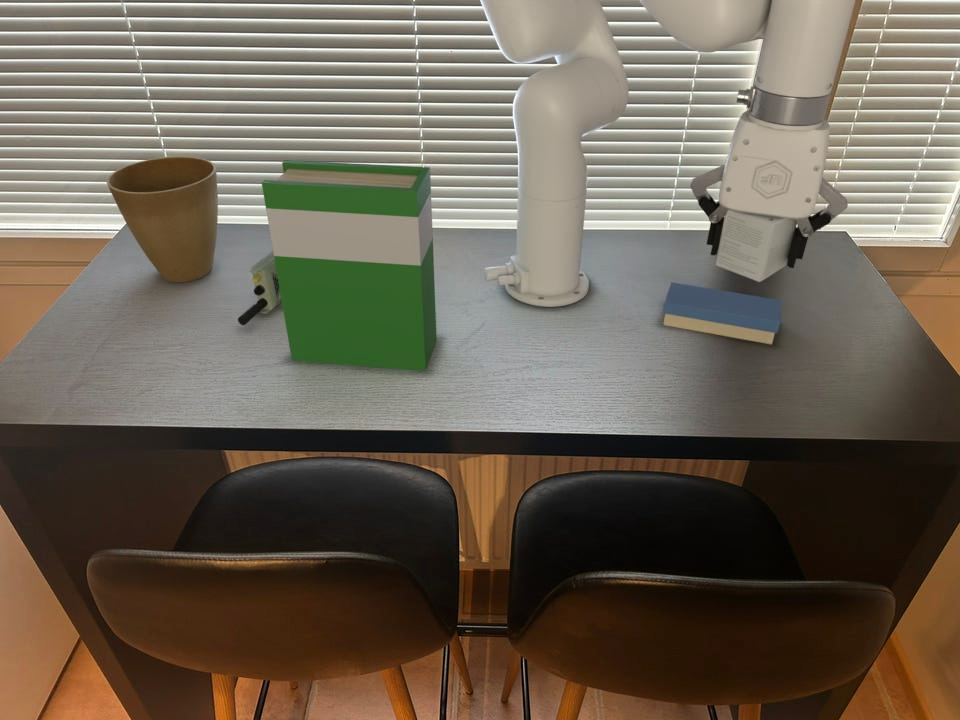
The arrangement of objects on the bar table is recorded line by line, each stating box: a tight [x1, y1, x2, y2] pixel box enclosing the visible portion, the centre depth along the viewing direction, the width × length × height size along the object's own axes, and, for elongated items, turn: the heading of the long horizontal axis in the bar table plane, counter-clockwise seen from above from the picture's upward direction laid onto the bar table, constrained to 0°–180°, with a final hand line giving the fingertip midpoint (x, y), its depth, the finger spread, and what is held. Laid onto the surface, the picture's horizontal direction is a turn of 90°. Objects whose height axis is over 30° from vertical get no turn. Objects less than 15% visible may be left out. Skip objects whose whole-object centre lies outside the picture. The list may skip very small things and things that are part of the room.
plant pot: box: [106, 155, 219, 283], centre depth 114 cm, size 15×15×16 cm
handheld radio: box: [237, 250, 282, 326], centre depth 112 cm, size 7×3×25 cm
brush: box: [662, 281, 783, 345], centre depth 104 cm, size 15×6×4 cm, turn 70°
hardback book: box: [261, 159, 438, 372], centre depth 93 cm, size 18×7×24 cm, turn 82°
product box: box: [714, 210, 797, 283], centre depth 88 cm, size 6×6×7 cm
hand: (752, 256), depth 89 cm, fingers closed on product box, 8 cm apart
